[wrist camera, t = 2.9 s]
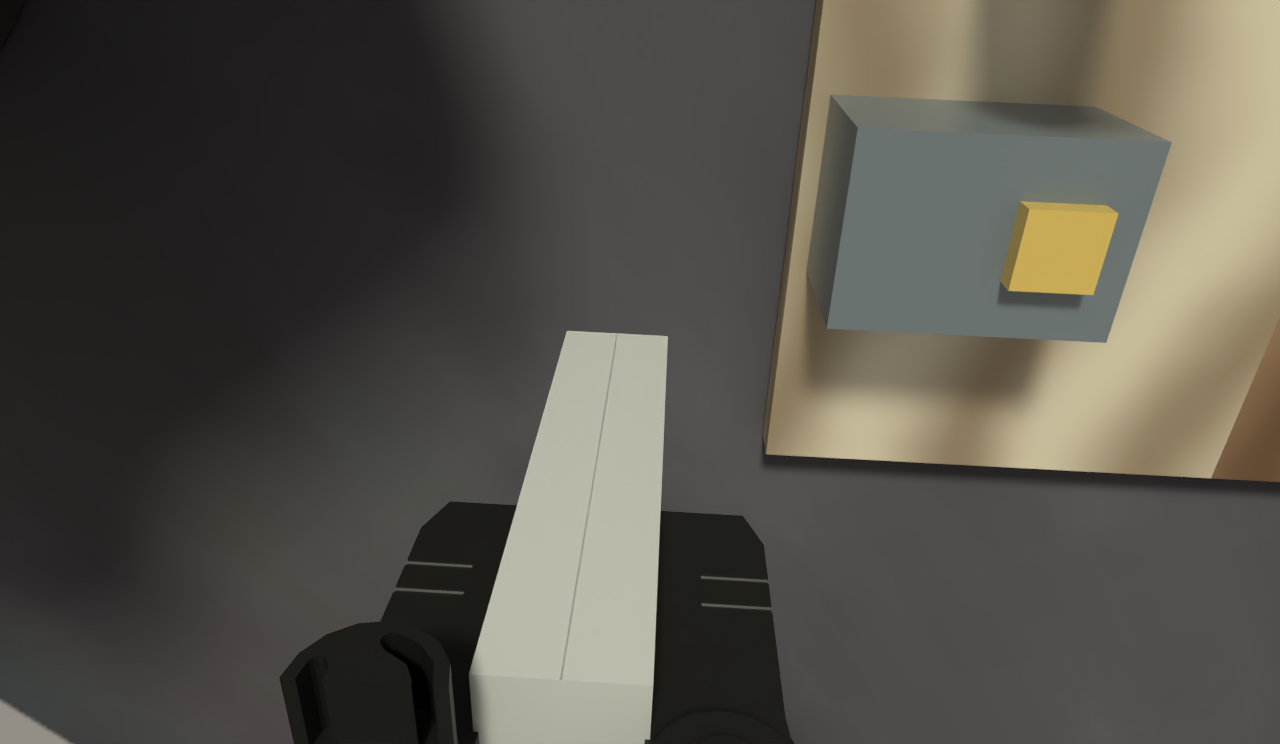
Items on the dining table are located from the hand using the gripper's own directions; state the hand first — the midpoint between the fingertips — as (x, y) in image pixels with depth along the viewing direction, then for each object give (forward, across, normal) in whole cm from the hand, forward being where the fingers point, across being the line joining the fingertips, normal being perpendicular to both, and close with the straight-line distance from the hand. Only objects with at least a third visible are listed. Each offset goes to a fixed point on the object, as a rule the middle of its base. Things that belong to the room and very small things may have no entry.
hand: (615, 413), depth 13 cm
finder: (+13, +8, 0) cm, 15 cm away
